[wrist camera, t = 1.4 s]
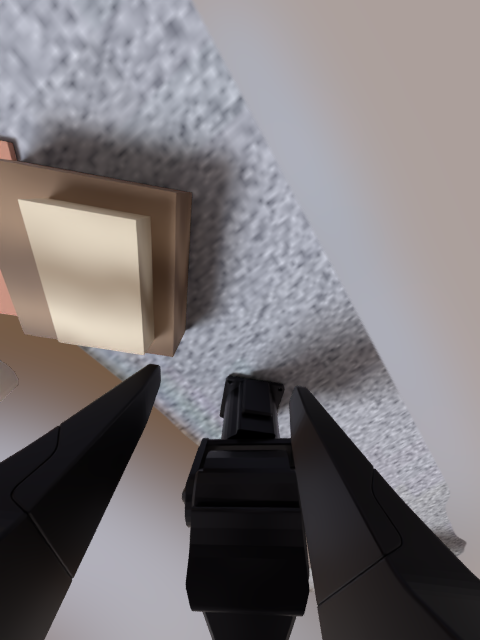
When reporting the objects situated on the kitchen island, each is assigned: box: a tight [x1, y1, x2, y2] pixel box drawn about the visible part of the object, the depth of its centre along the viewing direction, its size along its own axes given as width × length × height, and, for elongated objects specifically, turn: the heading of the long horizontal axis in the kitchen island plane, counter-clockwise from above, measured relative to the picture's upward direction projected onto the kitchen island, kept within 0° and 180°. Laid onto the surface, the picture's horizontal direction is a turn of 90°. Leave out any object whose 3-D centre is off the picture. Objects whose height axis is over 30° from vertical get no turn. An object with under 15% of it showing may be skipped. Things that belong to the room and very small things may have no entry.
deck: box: [0, 159, 192, 357], centre depth 17 cm, size 12×12×4 cm
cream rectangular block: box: [18, 198, 154, 355], centre depth 15 cm, size 9×6×2 cm, turn 171°
